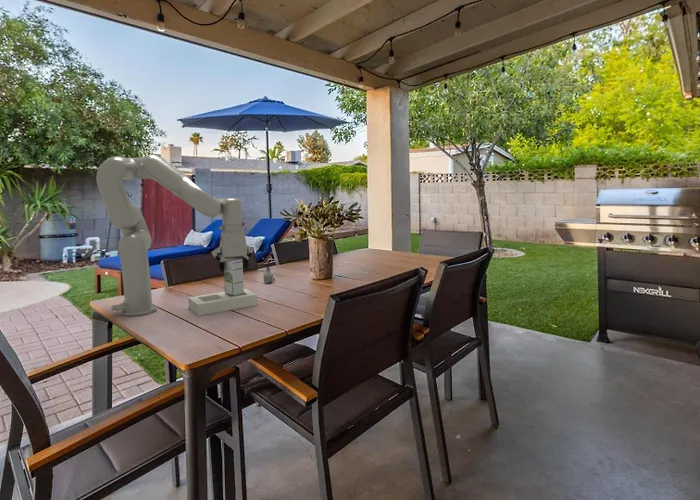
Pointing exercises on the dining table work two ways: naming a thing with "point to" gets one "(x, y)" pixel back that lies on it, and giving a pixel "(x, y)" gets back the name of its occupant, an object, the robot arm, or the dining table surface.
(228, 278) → the syrup box
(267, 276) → the reed diffuser
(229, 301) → the caddy
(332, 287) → the dining table surface
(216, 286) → the dining table surface
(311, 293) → the dining table surface
